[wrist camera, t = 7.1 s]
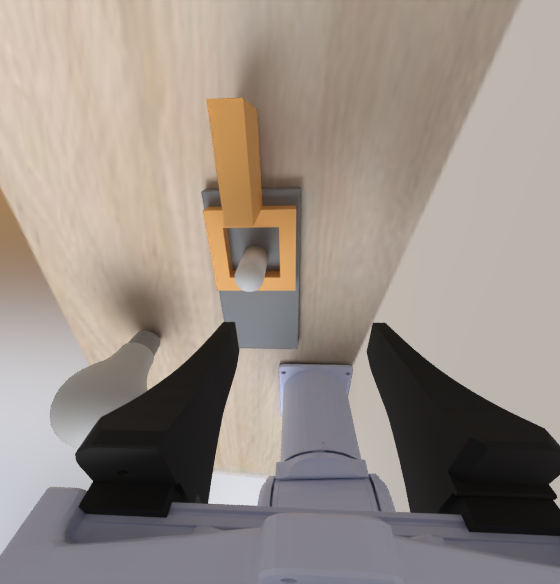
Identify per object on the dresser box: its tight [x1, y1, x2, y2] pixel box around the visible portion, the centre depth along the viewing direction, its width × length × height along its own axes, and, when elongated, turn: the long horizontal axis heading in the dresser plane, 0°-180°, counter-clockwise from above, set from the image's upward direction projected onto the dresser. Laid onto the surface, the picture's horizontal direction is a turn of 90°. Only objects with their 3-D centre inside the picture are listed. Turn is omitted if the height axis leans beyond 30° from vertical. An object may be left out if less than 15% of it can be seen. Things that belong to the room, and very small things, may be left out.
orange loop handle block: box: [203, 98, 296, 291], centre depth 16 cm, size 12×6×5 cm, turn 1°
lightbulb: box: [50, 331, 160, 448], centre depth 22 cm, size 6×6×11 cm
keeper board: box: [201, 188, 301, 349], centre depth 20 cm, size 15×7×6 cm, turn 1°
